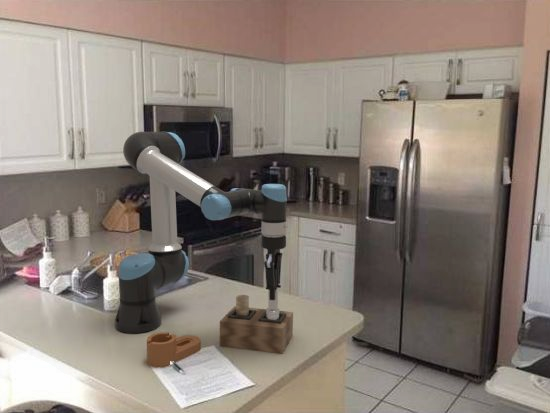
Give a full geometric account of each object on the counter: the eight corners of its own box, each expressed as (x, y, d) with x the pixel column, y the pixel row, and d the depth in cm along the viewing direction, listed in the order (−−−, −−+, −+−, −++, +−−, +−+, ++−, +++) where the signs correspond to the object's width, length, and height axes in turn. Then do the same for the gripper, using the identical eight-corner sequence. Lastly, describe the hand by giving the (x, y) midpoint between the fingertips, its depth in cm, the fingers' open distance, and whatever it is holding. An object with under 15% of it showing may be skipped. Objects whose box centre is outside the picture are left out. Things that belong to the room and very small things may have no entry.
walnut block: (219, 345, 155) (219, 319, 153) (234, 328, 168) (234, 304, 167) (282, 353, 150) (282, 326, 148) (292, 335, 163) (293, 310, 162)
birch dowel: (234, 322, 158) (234, 298, 157) (238, 318, 162) (238, 294, 160) (246, 323, 157) (246, 299, 156) (250, 319, 161) (250, 295, 159)
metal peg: (264, 335, 156) (264, 310, 155) (268, 330, 160) (268, 306, 158) (277, 336, 155) (277, 312, 154) (280, 331, 159) (280, 307, 157)
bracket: (160, 370, 139) (159, 346, 138) (141, 361, 144) (140, 338, 143) (206, 348, 153) (206, 327, 152) (187, 341, 158) (187, 320, 157)
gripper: (280, 239, 145) (279, 317, 149) (290, 231, 158) (289, 303, 161) (255, 238, 147) (255, 314, 151) (267, 230, 160) (267, 300, 163)
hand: (273, 308), depth 156 cm, fingers closed, pressing on metal peg
